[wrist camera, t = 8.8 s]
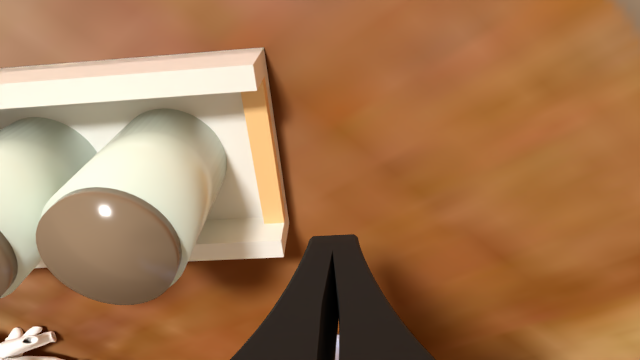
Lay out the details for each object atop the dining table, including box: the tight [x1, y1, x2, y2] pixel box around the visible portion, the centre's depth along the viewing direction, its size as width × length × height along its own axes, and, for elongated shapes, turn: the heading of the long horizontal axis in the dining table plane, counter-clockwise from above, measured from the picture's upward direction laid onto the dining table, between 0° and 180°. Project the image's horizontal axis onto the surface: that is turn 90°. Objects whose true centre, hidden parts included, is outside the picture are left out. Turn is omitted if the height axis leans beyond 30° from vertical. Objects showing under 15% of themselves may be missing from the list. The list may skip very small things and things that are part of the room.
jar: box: [36, 109, 227, 305], centre depth 18 cm, size 5×5×7 cm
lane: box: [0, 47, 289, 268], centre depth 20 cm, size 9×21×5 cm, turn 95°
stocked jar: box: [0, 117, 97, 298], centre depth 18 cm, size 5×5×7 cm
